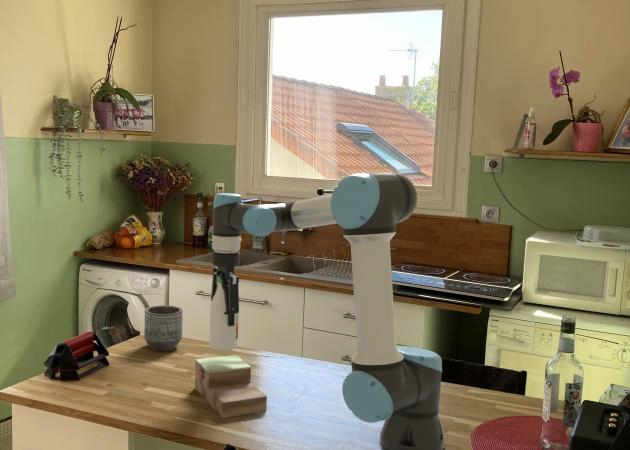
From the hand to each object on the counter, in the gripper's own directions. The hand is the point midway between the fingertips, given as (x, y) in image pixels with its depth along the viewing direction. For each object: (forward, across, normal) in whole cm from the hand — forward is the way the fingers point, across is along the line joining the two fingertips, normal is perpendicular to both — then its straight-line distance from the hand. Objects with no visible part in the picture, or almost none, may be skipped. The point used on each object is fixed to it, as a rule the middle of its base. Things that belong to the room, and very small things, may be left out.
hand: (223, 332), depth 193 cm
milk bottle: (+4, 0, 0) cm, 4 cm away
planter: (+17, +44, +4) cm, 48 cm away
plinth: (+17, -6, 0) cm, 18 cm away
